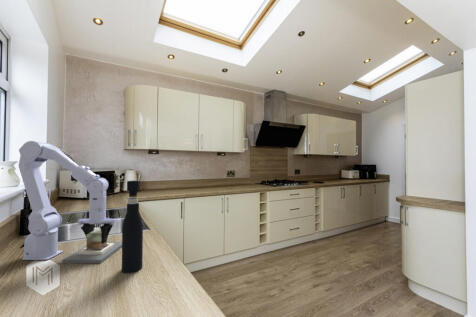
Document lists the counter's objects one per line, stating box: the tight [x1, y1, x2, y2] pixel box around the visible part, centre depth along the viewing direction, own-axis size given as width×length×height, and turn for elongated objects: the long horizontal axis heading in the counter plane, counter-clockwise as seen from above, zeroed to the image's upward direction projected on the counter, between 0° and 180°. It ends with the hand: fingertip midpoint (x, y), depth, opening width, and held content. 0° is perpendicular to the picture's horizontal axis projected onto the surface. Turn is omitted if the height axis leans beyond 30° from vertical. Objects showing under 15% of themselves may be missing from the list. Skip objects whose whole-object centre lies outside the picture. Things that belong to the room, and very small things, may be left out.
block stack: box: [86, 229, 108, 249], centre depth 89 cm, size 5×5×6 cm
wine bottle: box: [121, 180, 144, 274], centre depth 76 cm, size 6×6×30 cm
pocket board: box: [61, 241, 122, 264], centre depth 89 cm, size 14×18×2 cm
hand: (97, 242), depth 89 cm, fingers closed on block stack, 5 cm apart
